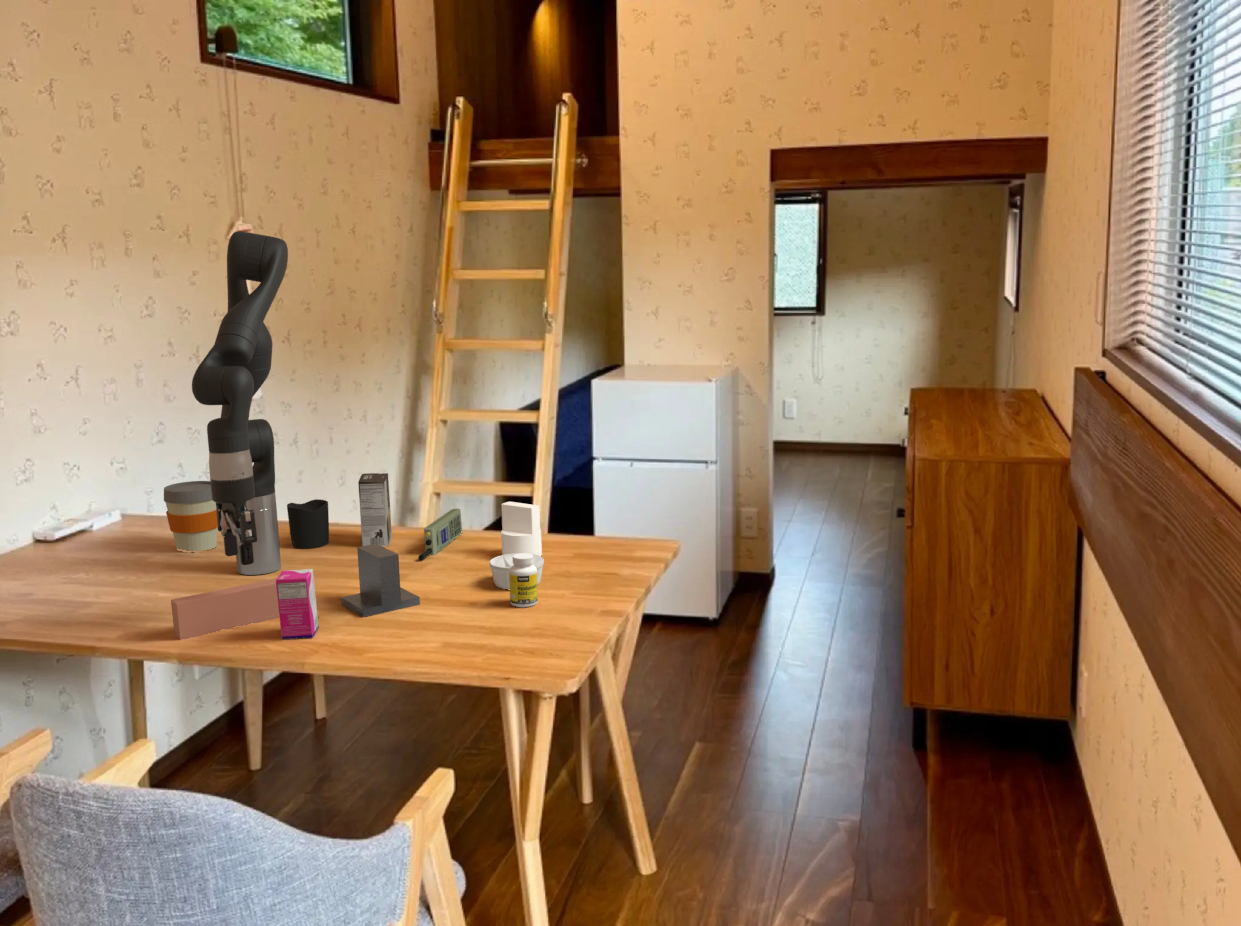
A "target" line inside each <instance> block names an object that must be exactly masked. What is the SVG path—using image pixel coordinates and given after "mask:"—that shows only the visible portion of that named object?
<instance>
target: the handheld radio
mask: <svg viewBox="0 0 1241 926" xmlns="http://www.w3.org/2000/svg"><path fill="white" fill-rule="evenodd" d="M462 525H463V523H462V513H461V509H460V508H451V509H450V510H448V511H447V512H446V513H444V514H443V515H441V516H440V517H438V518H436V520H434V521H433V522H431V523H429V525H427V526H426V527H424V528H423V533H424V544H425V545H424V546H425V551H423V552H421V553H420V554H419V555H418V559H419V560H420V561H424V559H426V558H427V557H428V556H435V554H436V555H437V554H438V553H440V552H441V551H442V550H443V548H444V547H445V546H446V547H447V546H449V545H450V544H451V543H452V541H453V540H454V539H455V538H456V537H457V536H459V537H460V536H461V535H460V534H462V535H463V526H462ZM461 531H462V533H461ZM456 539H457V538H456ZM456 539H455V540H456ZM455 540H454V541H455ZM454 541H453V542H454ZM450 542H451V543H450ZM449 543H450V544H449ZM448 544H449V545H448ZM446 547H445V548H446ZM445 548H444V549H445ZM439 551H440V552H439ZM430 554H432V555H430Z"/></svg>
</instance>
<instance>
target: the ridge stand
mask: <svg viewBox="0 0 1241 926" xmlns="http://www.w3.org/2000/svg"><path fill="white" fill-rule="evenodd" d="M356 549H357V566H358V578H359V580H358V581H359V593H354V594H351V595H346V596H342V597H341V598H340V599H341V605H342V606H343V607H345V608H347V609H349V610H350V611H352V612H353V613H355V614H356V615H358V616H360V617H362V618H366V617H371V616H375V615H380V614H384V613H388V612H392V611H396V610H401V609H404V608H409V607H414V606H419V605H420V604H421V598H420V596H418V595H416V594H414V593H413V592H410V591H409V590H407V589H406V588H403V587H401V578H400V577H401V576H400V560H399V559H400V557H399V553H397V552H395V551H392V550H390V549H388V548H387V547H382V546H380V545H377V544H372V545H367V546H362V545H361V546H357V548H356Z"/></svg>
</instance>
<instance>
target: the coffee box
mask: <svg viewBox="0 0 1241 926" xmlns="http://www.w3.org/2000/svg"><path fill="white" fill-rule="evenodd" d="M389 481H390V480H389V473H388V472H387V473H383V472H382V473H378V472H376V473H375V472H372V473H371V472H370V473H362V474H361V476H360V477H359V479H358V482H357V483H358V496H359V513H360V528H361V529H360V530H361V531H360V532H361V533H360V534H361V546H367V545H372V544H377V545H380V546H388V547H389V546H390V544H391V541H392V537H393V531H392V530H393V529H392V515H391V501H390V500H391V497H390V486H389V485H390V484H389Z"/></svg>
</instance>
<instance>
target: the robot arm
mask: <svg viewBox="0 0 1241 926" xmlns="http://www.w3.org/2000/svg"><path fill="white" fill-rule="evenodd" d="M288 261H289V249H288V244H287V242H286V241H285V240H284V239H281V238H279V237H275V236H271V235H264V234H260V233H259V234H258V233H254V232H248V231H239V230H237V231H234V232H233V233H231V235H230V238H229V240H228V244H227V251H226V279H227V281H226V282H227V287H226V288H227V312H226V314H225V315H224V316H223V318H222V320H221V322H220V325H219V328H218V332H217V334H216V338H215V342H214V344H213V346H212V347H211V348H210V350H209V351H208V352H207V354H206V355H205V357H204V358H203V359H202V361H201V362H200V363H199V365H198V366H197V368H196V369H195V371H194V374H193V377H192V381H191V391H192V394H193V397H194V398H195V400H196V401H197V402H198V403H200V404H201V405H204V406H221V413H220V417H218V418H214V419H212V420H210V421H209V422H208V423H207V425H206V434H207V444H208V454H209V455H208V471H209V472H208V473H209V481H210V482H211V493H212V500H213V501H214V502H216V510H217V523H218V533H219V532H220V535H221V537H223V547H224V554H225V556H226V557H233V556H235V559H236V569H237V573H238V574H241V575H246V576H249V575H250V576H252V575H255V576H257V575H265V574H270V573H274V572H277V571H279V570H280V569H281V568H282V563H281V562H282V559H281V549H280V548H281V547H280V535H279V534H280V532H279V523H278V522H279V521H278V510H277V509H278V508H277V498H276V497H277V496H276V487H275V485H276V471H275V468H276V467H275V465H276V464H275V439H274V438H275V437H274V432H273V428H272V426H271V424H270V423H269V421H268V420H266V419H264V418H255V419H249V418H250V410H251V406H252V401H253V397H254V396H255V395H256V393H258V391H259V390H260V388H261V387H262V386H263V384H264V383H265V382H266V380H267V378H268V376H269V375H270V372H271V368H272V361H273V360H272V357H273V346H274V345H273V338H272V336H271V334H270V331H269V329H268V327H267V325H266V324H265V323H264V321H265V319H266V316H267V314H268V312H269V310H270V309H271V307H272V305H273V302H274V300H275V299H276V297H277V293H278V291H279V289H280V287H281V285H282V283H283V280H284V277H285V274H286V271H287V267H288ZM247 281H251V282H259V284H258V285H257V287H256V288H255V289H254V290H253V291H251V292H249V288H248V283H247Z"/></svg>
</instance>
